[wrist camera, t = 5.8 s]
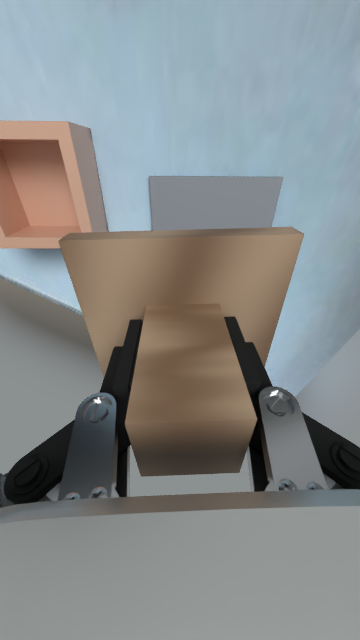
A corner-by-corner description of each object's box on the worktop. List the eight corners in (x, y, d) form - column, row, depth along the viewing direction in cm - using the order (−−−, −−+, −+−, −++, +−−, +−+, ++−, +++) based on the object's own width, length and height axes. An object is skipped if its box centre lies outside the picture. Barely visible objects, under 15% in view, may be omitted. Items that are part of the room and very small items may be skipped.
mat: (280, 176, 22) (283, 177, 21) (252, 298, 30) (253, 300, 30) (149, 176, 22) (149, 176, 21) (157, 298, 30) (157, 300, 30)
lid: (291, 226, 10) (457, 320, 4) (252, 374, 16) (299, 498, 10) (69, 233, 10) (-80, 337, 4) (113, 378, 16) (78, 507, 10)
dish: (90, 128, 20) (67, 121, 16) (109, 233, 25) (95, 248, 21) (-13, 127, 19) (-62, 120, 15) (28, 233, 25) (-1, 248, 21)
